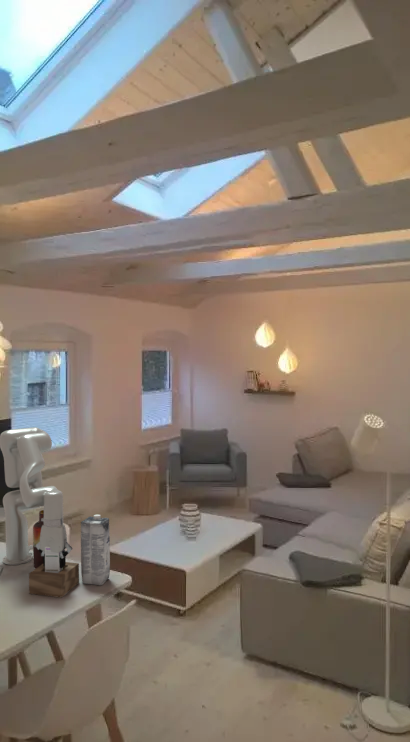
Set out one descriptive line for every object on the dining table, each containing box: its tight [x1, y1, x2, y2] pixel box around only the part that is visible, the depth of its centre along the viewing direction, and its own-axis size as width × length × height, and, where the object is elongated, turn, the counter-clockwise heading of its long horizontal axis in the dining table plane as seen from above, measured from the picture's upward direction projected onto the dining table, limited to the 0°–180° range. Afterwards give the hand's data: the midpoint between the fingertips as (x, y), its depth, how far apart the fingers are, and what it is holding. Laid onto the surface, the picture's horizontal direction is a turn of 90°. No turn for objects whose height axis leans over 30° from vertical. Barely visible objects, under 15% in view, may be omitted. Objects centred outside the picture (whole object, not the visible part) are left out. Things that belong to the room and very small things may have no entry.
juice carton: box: [80, 514, 111, 586], centre depth 225 cm, size 9×10×27 cm
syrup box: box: [45, 547, 63, 573], centre depth 219 cm, size 6×6×14 cm
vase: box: [32, 509, 44, 570], centre depth 235 cm, size 11×11×26 cm
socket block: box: [28, 561, 80, 598], centre depth 219 cm, size 14×14×8 cm
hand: (54, 565), depth 219 cm, fingers closed on syrup box, 6 cm apart
